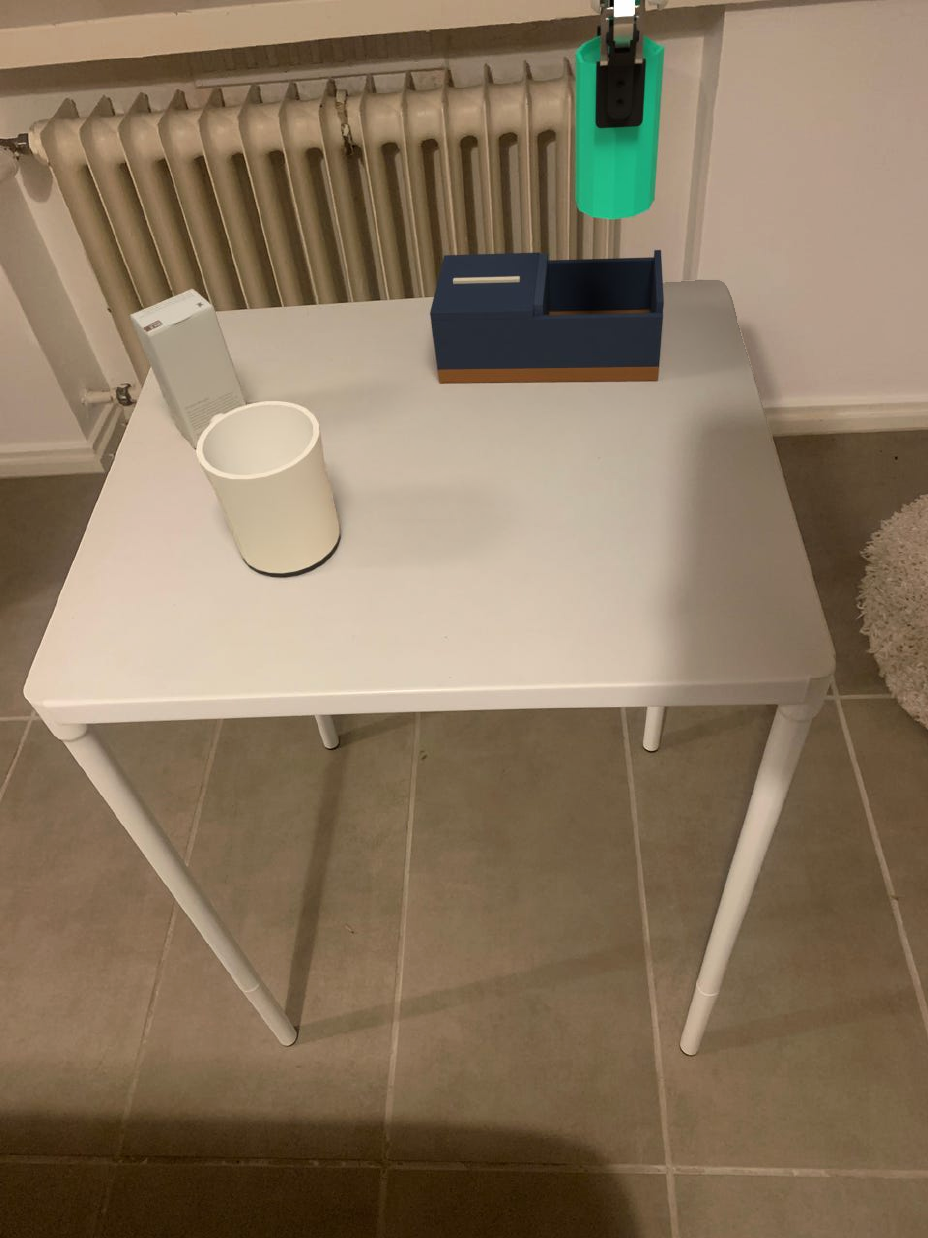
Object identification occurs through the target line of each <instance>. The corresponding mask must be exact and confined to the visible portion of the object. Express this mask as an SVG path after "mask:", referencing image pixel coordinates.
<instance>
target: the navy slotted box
mask: <svg viewBox="0 0 928 1238" xmlns="http://www.w3.org/2000/svg"><path fill="white" fill-rule="evenodd" d="M662 261H663V259H662V250H661V249H654V251H653V257H652V256H650V257H648V256H647V257H620V258H618V257H616V258H584V259H582V258H581V259H580V258H579V259H549V253H548V252H546V253H545V252H544V253H540V252H538V251H537V252H510V253H509V252H507V253H478V254H475V253H474V254H444V255H443V259H442V262H441V266H440V271H439V274H438V279H437V283H436V287H435V291H434V295H433V298H432V300H433V301H432V302H431V307H430V311H429V316H430V324H431V331H432V332H431V333H432V339H433V346H434V347H433V348H434V355H435V363H436V369H437V376H438V377H437V378H438V383H439V384H480V383H483V384H484V383H486V384H487V383H488V384H489V383H491V384H492V383H493V384H494V383H496V384H497V383H567V382H568V383H575V382H576V383H577V382H578V383H580V382H586V383H587V382H590V383H591V382H656V381H659V374H660V373H659V372H660V362H661V349H662V337H663V324H664V307H665V306H664V305H665V298H664V297H665V296H664V279H663V262H662Z"/></svg>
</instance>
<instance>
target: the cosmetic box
mask: <svg viewBox="0 0 928 1238" xmlns="http://www.w3.org/2000/svg"><path fill="white" fill-rule="evenodd" d="M129 318H130V320H131V321H130V322H131V323H132V325H133V328H134V330H135V333H136V335H137V337H138V340H139V342H140V344H141V347H142V349H143V351H144V354H145V356H146V358H147V361H148V363H149V365H150V368H151V370H152V373H153V375H154V377H155V379H156V382H157V384H158V387H159V389H160V392H161V394H162V397H163V399H164V401H165V403H166V406H167V408H168V410H169V413H170V415H171V418H172V420H173V422H174V424H175V425H174V426H175V427H176V429H178V431H179V432H180V433H181V435H182V436H183V437H184V438H185V439H186V440H187V441H188V442H189V444H190V445H191V446H192V447H193V448H194V449H197V442H198V440H199V438H200V437H201V435H202V433H203V431H204V430H205V429H206V428H207V427H208V426H209V425H210V420H211V419H212V418H213V417H214V416H215V415H217V414H220V413H223V414H225V413H228V412H230V411H232V410H234V409H236V408H239V407H242V406H245V405H248V404H247V402H246V398H245V395H244V392H243V389H242V387H241V384H240V381H239V378H238V375H237V372H236V369H235V365H234V363H233V360H232V357H231V354H230V351H229V348H228V345H227V342H226V339H225V336H224V333H223V330H222V328H221V326H220V322H219V320H218V315H217V313H216V309H215V307H214V305H213V304H211V303H210V302H209V301H208V300H207V299H205V298H204V296H202V295H201V294H200V293H199V292H198V291H197V290H196V289H194V288H190V289H188V290H186V291H184V292H182V293H179V294H177V295H174V296H172V297H169V298H167V299H165V300H163V301H159V302H158V303H155V304H153V305H151V306H148V307H146V308H144V309H143V308H142V309H141V310H138V311H137V312H134V313H131V314H130V315H129Z"/></svg>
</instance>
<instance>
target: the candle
mask: <svg viewBox="0 0 928 1238" xmlns="http://www.w3.org/2000/svg"><path fill="white" fill-rule="evenodd" d="M600 51H601V36H598V37H597V36H596V37H593V38H592V39H589V40H587V41H586V42H583V43H582V44H581V45H580V46H579V48H577V50H576V51H575V58H574V59H575V65H574V66H575V70H574V71H575V75H574V76H575V79H574V80H575V83H574V84H575V85H574V87H575V88H574V89H575V91H574V92H575V93H574V94H575V98H574V99H575V102H574V105H575V109H574V110H575V112H574V113H575V117H574V119H575V129H574V130H575V134H574V135H575V139H574V141H575V142H574V143H575V144H574V145H575V146H574V147H575V148H574V153H575V155H574V158H575V159H574V161H575V165H574V166H575V168H574V171H575V173H574V174H575V175H574V177H575V178H574V180H575V181H574V184H575V186H574V187H575V192H574V193H575V194H574V195H575V197H574V200H575V204H576V206H577V209H578V211H579V212H581V213H584V214H585V215H587V216H589V217H591V218H594V219H595V218H596V219H605V220H619V219H626V218H632V217H636V216H638V215H640V214H641V213H644V212H646V211H648V210H650V208H651V207H652V204H653V203H654V202H655V201H656V199H655V197H656V184H657V183H656V182H657V168H658V153H659V139H660V138H659V137H660V122H661V121H660V120H661V107H662V92H663V79H664V78H663V76H664V61H665V46H664V45H661V44H659V43H656V41H654V40H652V39H651V38H649V37H648V36H646V35H645V34H644V44H643V59H646V71H645V89H644V108H643V122H642V124H641V125H639V126H634V127H615V128H598V127H597V126H596V123H595V116H596V62H598V61H600ZM608 53H609V46H608ZM608 61H609V58H608Z"/></svg>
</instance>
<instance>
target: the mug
mask: <svg viewBox="0 0 928 1238" xmlns="http://www.w3.org/2000/svg"><path fill="white" fill-rule="evenodd" d="M322 442H323V441H322V433H321V426H320V423H319V421H318V420H317V417H316V416H315V415H314V414H313V413H312V412H311V411H310V410H309V409H308V408H306V407H304V406H302V405H299V404H297V403H293V402H288V401H284V400H279V401H278V400H266V401H259V402H252V403H249V404H247V405H245V406H242V407H239V408H236V409H234V410H232V411H230V412H228V413H225V414H223V413H220V414H217V415H215V416H214V417H213V418H212V419H211V420H210V425H209V426H208V427H207V428H206V429H205V430H204V431H203V433H202V435H201V437H200V438H199V440H198V442H197V448H196V451H195V452H196V456H197V459H198V462H199V465H200V467H201V469H202V470H203V473H204V474H205V476H206V478H207V480H208V482H209V484H210V486H211V488H212V489H213V491H214V493H215V496H216V498H217V500H218V503H219V506H220V508H221V510H222V513H223V515H224V517H225V519H226V523H227V524H228V527H229V529H230V531H231V535H232V536H233V539H234V542H235V543H236V546H237V548H238V550H239V553H240V556H241V557H242V560H243V562H244V563H245V564H246V565H247V566H248V567H249V568H250V569H252V570H254V571H255V572H257V573H259V574H261V575H265V576H268V577H273V578H288V577H296V576H299V575H303V574H305V573H309V572H311V571H313V570H315V569H316V568H318V567H320V566H321V565H323V564H324V563H325V562H326V561H327V560H328V559H329V558H331V556H332V555H333V553H334V552H335V551H336V550H337V548H338V545H339V543H340V539H341V525H340V521H339V517H338V513H337V509H336V504H335V500H334V496H333V491H332V486H331V483H330V478H329V473H328V470H327V469H328V468H327V464H326V461H325V454H324V449H323V443H322Z"/></svg>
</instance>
